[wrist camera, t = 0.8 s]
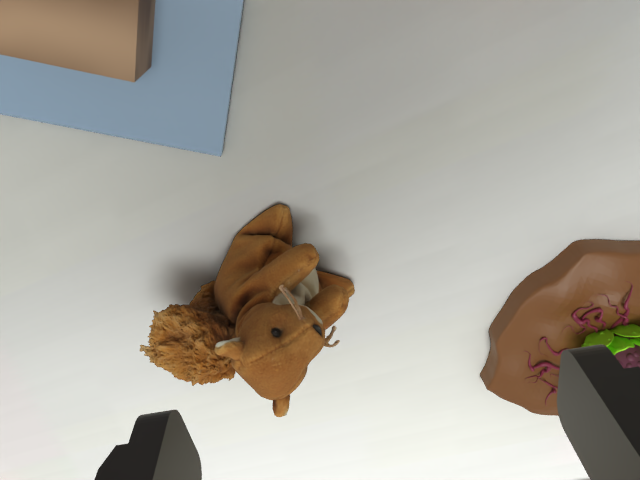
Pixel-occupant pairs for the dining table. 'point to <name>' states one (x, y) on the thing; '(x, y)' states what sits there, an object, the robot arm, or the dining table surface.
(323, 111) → the dining table surface
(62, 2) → the walnut plinth
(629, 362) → the plant
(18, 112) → the light blue board
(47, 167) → the dining table surface
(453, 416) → the dining table surface
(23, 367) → the dining table surface
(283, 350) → the stuffed squirrel
